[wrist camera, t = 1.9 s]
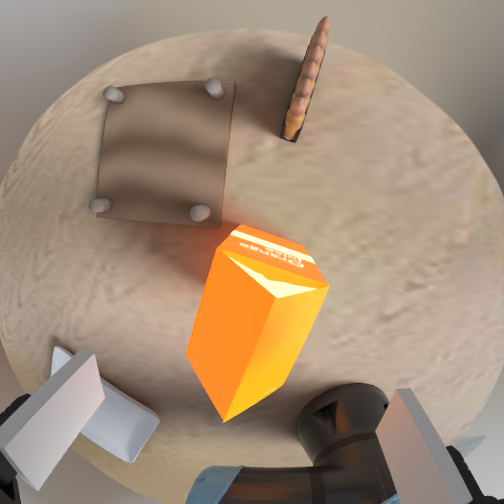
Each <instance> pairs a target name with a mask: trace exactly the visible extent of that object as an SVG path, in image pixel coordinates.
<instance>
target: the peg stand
mask: <svg viewBox="0 0 504 504" xmlns="http://www.w3.org/2000/svg"><path fill="white" fill-rule="evenodd" d="M235 90H236V84H235V81H220V80H219V79H217V78H210V79H208V80H207V81H180V82H164V83H151V84H142V85H133V86H125V87H118V88H115V87H113V86H108V87H107V88H106V89H105V90H104V92H103V96H104V97H105V98H107V99H109V100H110V101H109V106H108V111H107V117H106V123H105V129H104V136H103V143H102V150H101V159H100V168H99V179H98V193H97V199H92V200H91V201H90V203H89V209H90V211H91V212H92V213H97V214H96V218H108V219H120V220H132V221H144V222H155V223H166V224H177V225H187V226H198V227H208V228H220V227H221V217H222V206H223V195H224V185H225V175H226V166H227V156H228V147H229V138H230V130H231V121H232V113H233V105H234V98H235Z"/></svg>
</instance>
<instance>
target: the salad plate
mask: <svg viewBox="0 0 504 504" xmlns="http://www.w3.org/2000/svg"><path fill="white" fill-rule="evenodd" d="M73 356H74V355H73V354H71V353H70V352H69V351H67V350H66V349H64V348H62V347H59V346H55V347H54V351H53V357H52V365H51V376H53V375H54V374H55V373H56V372H57V371H58V370H59V369H60V368H61V367H62V366H63V365H64V364H65V363H67V362H68V361H69V360H70V359H71V358H72V357H73ZM51 376H50V377H51ZM100 380H101V384H102V388H103V392H104V396H105V399H104V400H103V401H102V403H101V404H100V405H99V407H98V408H97V409H96V411H95V412H94V413H93V415H92V416H91V417H90V419H89V420H88V422H87V423H86V424H85V426H84V427H83V428H82V430H81V431H80V433H81V434H83V435H84V436H85V437H87V438H88V439H90V440H91V441H93V442H94V443H96V444H97V445H99V446H100V447H102V448H104V449H105V450H107V451H108V452H110V453H112V454H113V455H115V456H117V457H118V458H120V459H122V460H124V461H126V462H128V463H133V462H134V461H135V459H136V458H137V456H138V454H139V452H140V451H141V449H142V447H143V446H144V444H145V443H146V442H147V440H148V439H149V438H150V436H151V435H152V434H153V433H154V431H155V430H156V429H157V427H158V426H159V424H160V422H161V420H160V417H159V416H158V415H157V414H156V413H155V412H154V411H153V410H151V409H150V408H148V407H146V406H145V405H143V404H141V403H140V402H138V401H136V400H134V399H133V398H131V397H130V396H128V395H126V394H125V393H123V392H122V391H120V390H119V389H117V388H116V387H114V386H113V385H111V384H110V383H109V382H107V381H106V380H104V379H103V378H102V377H100Z"/></svg>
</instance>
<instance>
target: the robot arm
mask: <svg viewBox="0 0 504 504" xmlns="http://www.w3.org/2000/svg"><path fill="white" fill-rule="evenodd" d="M104 399H105V396H104V392H103V388H102V384H101V380H100V375H99V371H98V366H97V361H96V356H95V353H93V352H90V351H87V350H84V349H81V350H80V351H79V352H77V353H76V354H75V355H74V356H73V357H72V358H71V359H70V360H69V361H68V362H67V363H65V364H64V365H63V366H62V367H61V368H60V369H59V370H58V371H57V372H56V373H55V374H54V375H53V376H51V377H50V378H49V379H48V380H47V381H46V382H45V383H44V384H43V385H42V386H41V387H40V388H39V389H38V390H37V391H36V392H35V393H34V394H33V395H32V396H31V395H29V394H28V393H27V394H25V395H23V396H20V397H18V398H17V399H16V400H15V401H14V402H13V403H12V404H11V405H10V406H9V407H7V408H6V409H5V412H2V413H1V414H0V504H21V501H20V495H19V489H18V482H17V479H16V477H15V476H16V475H17V473H18V475H19V476H20V477H21V478H22V479H23V480H24V481H25V482H26V483H27V484H29V485H30V486H32V487H33V488H35V489H36V490H37V491H39V489H40V487H41V486H42V485H43V483H44V482H45V480H46V479H47V477H48V476H49V475H50V473H51V472H52V470H53V469H54V467H55V466H56V465H57V463H58V462H59V460H60V459H61V458H62V456H63V455H64V453H65V452H66V450H67V449H68V448H69V446H70V445H71V444H72V442H73V441H74V439H75V438H76V437H77V435H78V434H79V432H80V431H81V430H82V428H83V427H84V426H85V424H86V423H87V422H88V420H89V419H90V417H91V416H92V415H93V413H94V412H95V411H96V409H97V408H98V407H99V405H100V404H101V403H102V401H103V400H104ZM297 431H298V438H299V441H300V443H301V445H302V446H303V448H304V450H305V451H306V453H307V455H308V456H309V458H310V460H311V461H312V463H313V466H311V467H284V468H265V467H245V466H242V465H241V466H239V467H233V466H211V467H208V468H206V469H204V470H203V471H202V472H201V473H200V474H199V475H198V477H197V478H196V480H195V482H194V484H193V486H192V488H191V490H190V492H189V495H188V498H187V500H186V504H504V499H500V500H497V499H496V498H495V497H493V496H484V495H483V494H482V492H481V490H480V488H479V486H478V484H477V482H476V480H475V479H474V477H473V475H472V473H471V471H470V470H468V466H467V464H466V463H464V459H463V457H462V455H461V454H460V452H459V451H458V450H456V449H455V448H454V447H453V446H452V445H451V446H447V447H445V445H444V444H443V442H442V440H441V438H440V437H439V435H438V433H437V431H436V430H435V428H434V426H433V425H432V423H431V421H430V419H429V418H428V416H427V414H426V413H425V411H424V410H423V408H422V406H421V405H420V403H419V401H418V400H417V398H416V397H415V395H414V393H413V392H412V390H411V389H410V388H405V389H396V390H395V393H394V395H393V397H392V399H391V401H390V402H389V400H388V398H387V396H386V395H385V393H384V392H383V391H382V390H380V389H379V388H377V387H375V386H372V385H367V384H350V385H345V386H340V387H337V388H334V389H331V390H329V391H327V392H325V393H323V394H321V395H319V396H318V397H316V398H315V399H313V400H312V401H311V402H310V403H308V404H307V405H306V406H305V408H304V409H303V410H302V412H301V413H300V415H299V417H298V421H297Z"/></svg>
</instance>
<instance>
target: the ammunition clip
mask: <svg viewBox="0 0 504 504" xmlns="http://www.w3.org/2000/svg"><path fill="white" fill-rule="evenodd" d="M329 30H330V20H329V18H328V17H327V16H326V17H324V18H322V20H321V21H320V22H319V23H318V25H317V28H316V31H315V33H314V35H313V36H312V38H311V41H310V45H308V48H307V51H306V54H305V57H304V60H303V63H302V66H301V70H300V73H299V76H298V79H297V82H296V85H295V88H294V91H293V94H292V97H291V100H290V103H289V106H288V109H287V113H286V116H285V119H284V122H283V125H282V130H281V136H280V138H281V139H284V140H287V141H291V142H294V143H295V142H296V141H297V139H298V136H299V134H300V132H301V130H302V126H303V123H304V120H305V117H306V113H307V110H308V107H309V104H310V100H311V97H312V94H313V91H314V87H315V84H316V81H317V77H318V74H319V71H320V67H321V64H322V61H323V57H324V54H325V49H326V46H327V42H328V39H327V38H328V33H329Z"/></svg>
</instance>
